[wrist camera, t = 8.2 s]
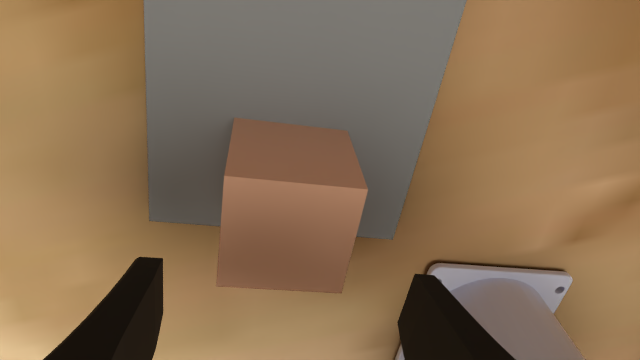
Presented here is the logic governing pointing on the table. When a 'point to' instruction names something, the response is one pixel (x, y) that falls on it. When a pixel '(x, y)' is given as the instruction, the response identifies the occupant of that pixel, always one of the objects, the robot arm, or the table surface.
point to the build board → (290, 90)
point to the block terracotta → (289, 207)
